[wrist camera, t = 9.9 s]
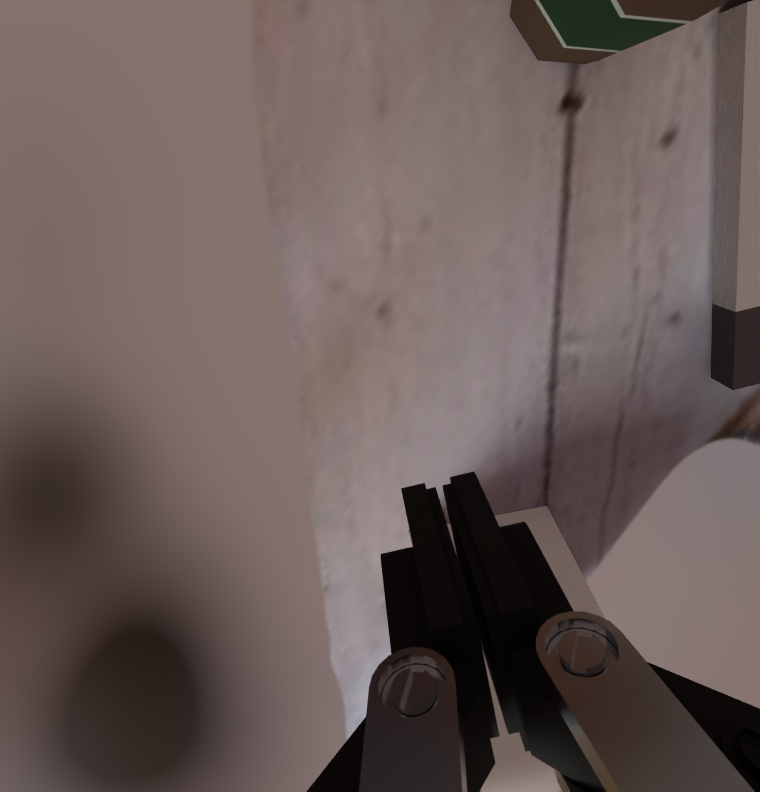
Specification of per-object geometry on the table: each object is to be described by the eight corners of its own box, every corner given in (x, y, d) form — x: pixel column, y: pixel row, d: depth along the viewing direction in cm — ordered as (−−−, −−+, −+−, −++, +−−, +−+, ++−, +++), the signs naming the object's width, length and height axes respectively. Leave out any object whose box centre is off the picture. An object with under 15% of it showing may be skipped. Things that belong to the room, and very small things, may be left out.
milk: (425, 629, 50) (507, 1053, 26) (408, 531, 45) (487, 935, 21) (551, 606, 50) (748, 1007, 26) (546, 505, 45) (780, 881, 21)
